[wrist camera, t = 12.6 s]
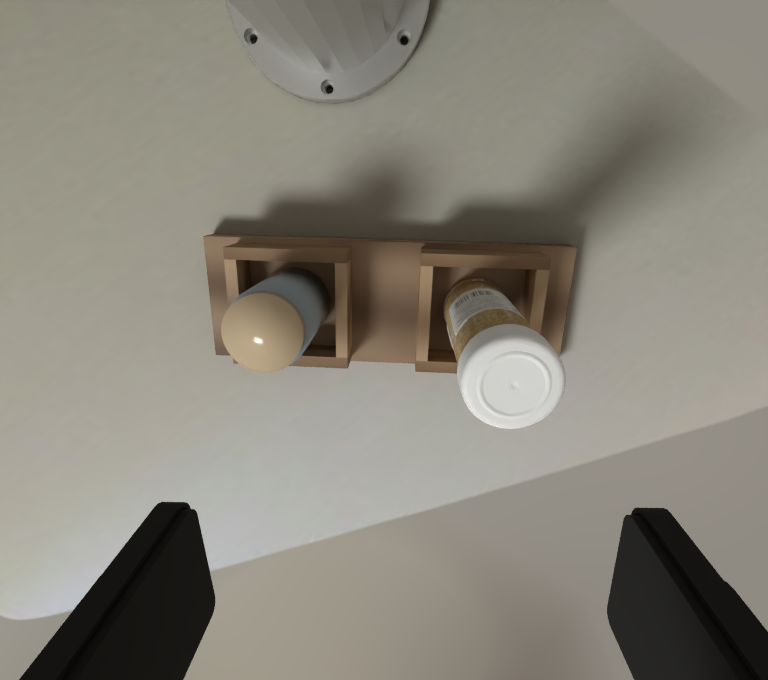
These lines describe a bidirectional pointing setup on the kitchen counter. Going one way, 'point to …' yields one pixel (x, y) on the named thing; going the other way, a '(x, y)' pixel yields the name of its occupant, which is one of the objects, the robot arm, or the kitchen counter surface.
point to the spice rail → (392, 290)
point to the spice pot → (275, 320)
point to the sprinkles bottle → (500, 357)
